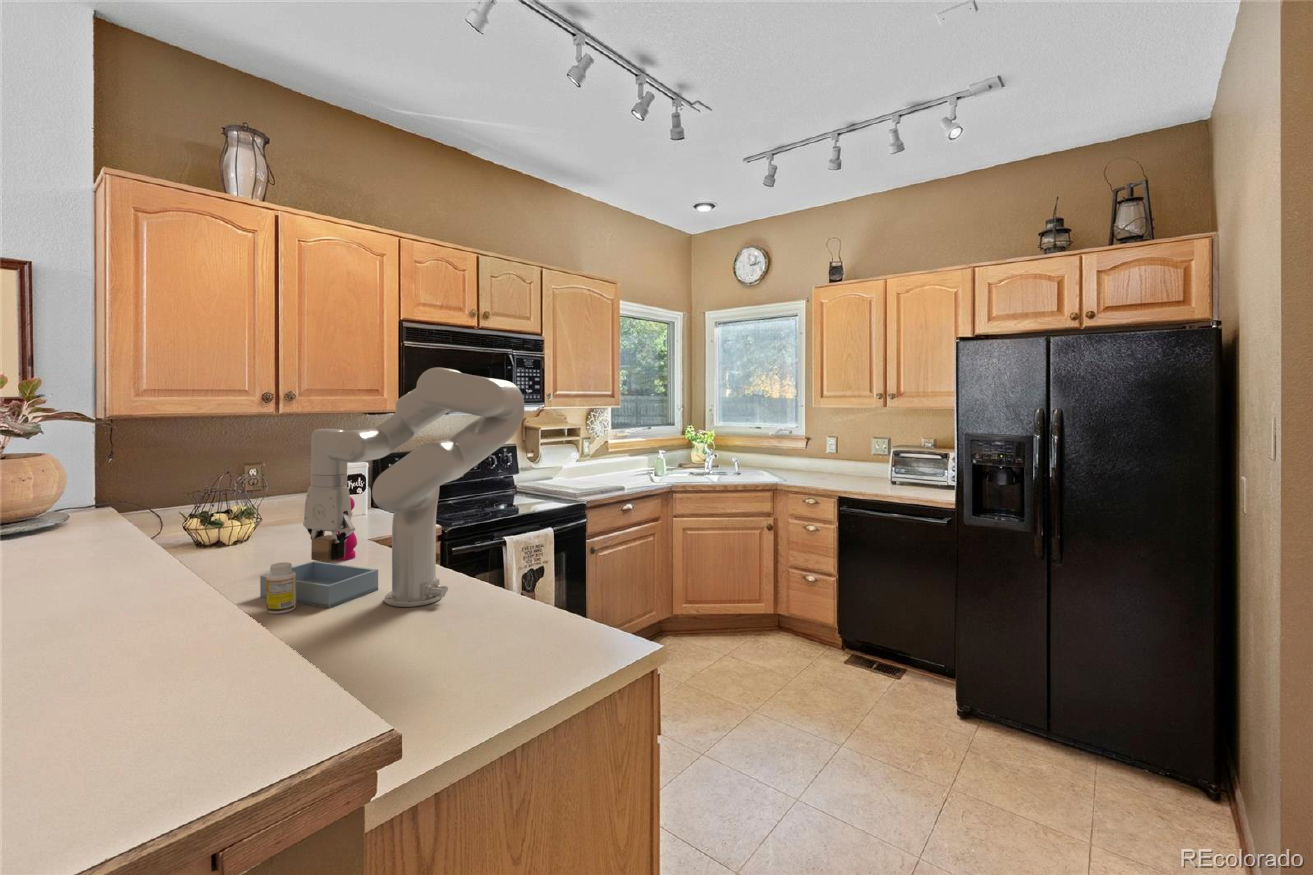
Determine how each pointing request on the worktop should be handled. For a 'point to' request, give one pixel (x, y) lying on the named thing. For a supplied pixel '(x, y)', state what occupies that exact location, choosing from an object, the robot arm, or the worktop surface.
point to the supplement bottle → (281, 588)
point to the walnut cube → (323, 548)
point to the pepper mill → (350, 541)
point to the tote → (329, 583)
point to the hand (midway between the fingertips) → (328, 556)
